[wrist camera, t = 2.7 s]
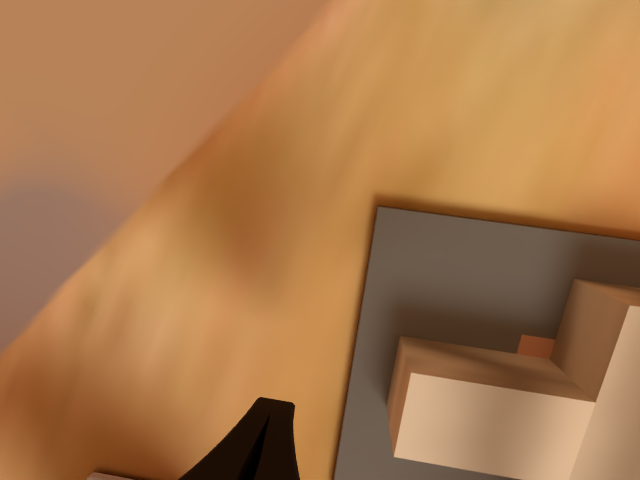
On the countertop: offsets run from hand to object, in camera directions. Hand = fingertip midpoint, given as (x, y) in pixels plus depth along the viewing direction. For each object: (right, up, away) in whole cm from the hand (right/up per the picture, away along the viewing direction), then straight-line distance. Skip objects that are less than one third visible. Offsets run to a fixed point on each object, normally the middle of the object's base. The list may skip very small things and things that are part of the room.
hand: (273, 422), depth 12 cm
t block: (+11, -1, +4) cm, 11 cm away
